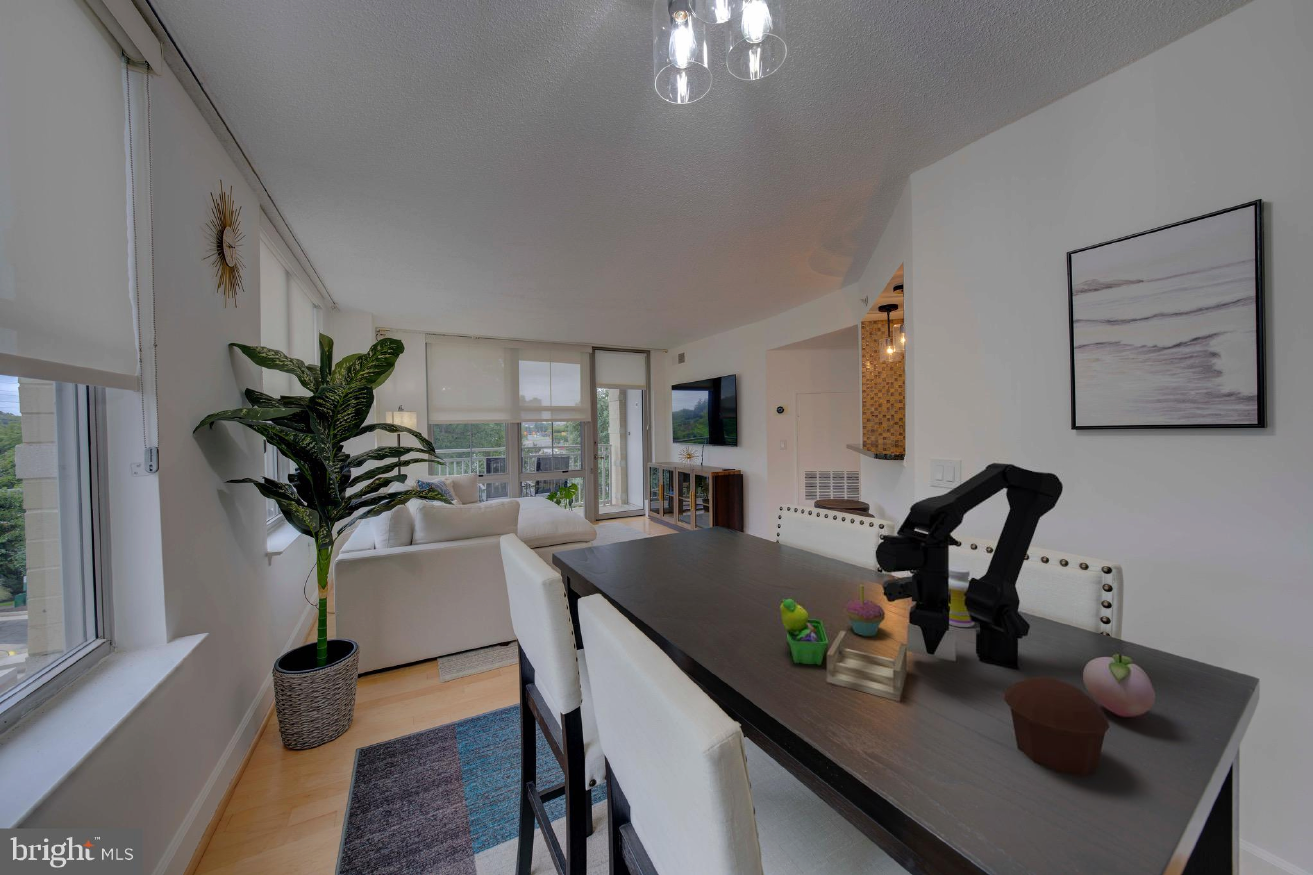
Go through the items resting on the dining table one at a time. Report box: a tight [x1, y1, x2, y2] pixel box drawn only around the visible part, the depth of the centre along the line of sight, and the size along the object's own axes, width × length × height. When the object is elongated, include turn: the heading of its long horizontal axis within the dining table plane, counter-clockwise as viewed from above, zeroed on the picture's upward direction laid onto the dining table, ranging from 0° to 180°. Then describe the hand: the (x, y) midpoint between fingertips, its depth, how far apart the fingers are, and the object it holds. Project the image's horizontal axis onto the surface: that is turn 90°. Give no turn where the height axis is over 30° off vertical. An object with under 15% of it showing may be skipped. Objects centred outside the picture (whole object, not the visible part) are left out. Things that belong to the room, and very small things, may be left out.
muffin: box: [1003, 676, 1110, 777], centre depth 68 cm, size 12×11×10 cm
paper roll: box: [906, 623, 957, 662], centre depth 93 cm, size 8×5×5 cm, turn 57°
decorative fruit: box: [1082, 653, 1156, 718], centre depth 77 cm, size 9×8×10 cm
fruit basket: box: [779, 598, 829, 666], centre depth 99 cm, size 11×9×11 cm
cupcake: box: [844, 581, 886, 637], centre depth 110 cm, size 9×8×12 cm
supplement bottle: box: [948, 565, 975, 628], centre depth 114 cm, size 7×7×13 cm
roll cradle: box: [826, 630, 908, 702], centre depth 90 cm, size 12×12×5 cm
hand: (931, 648), depth 93 cm, fingers closed on paper roll, 5 cm apart
